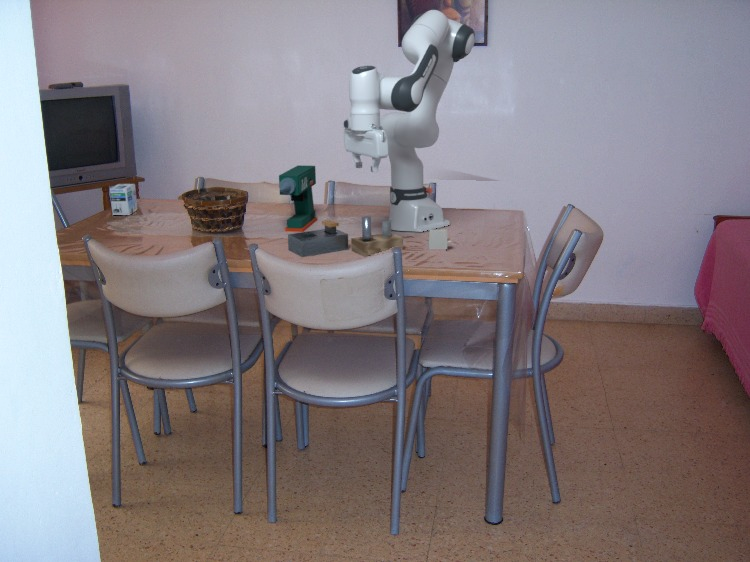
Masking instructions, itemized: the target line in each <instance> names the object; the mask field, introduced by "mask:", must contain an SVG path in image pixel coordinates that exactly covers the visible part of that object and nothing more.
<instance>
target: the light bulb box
mask: <svg viewBox="0 0 750 562" xmlns="http://www.w3.org/2000/svg"><path fill="white" fill-rule="evenodd" d="M136 191H137V190H136V183H118V184H116V185H114V186H111V188H109V193H110V194H109V197H110V202H111V203H110V204H111V211H112V216H113V215H130V214H132V213H133V212H134V211H136V210H137V209H138V201H137V199H138V198H137V192H136ZM133 214H134V213H133ZM133 214H132V215H133ZM130 216H131V215H130Z"/></svg>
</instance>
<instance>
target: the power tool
mask: <svg viewBox="0 0 750 562" xmlns="http://www.w3.org/2000/svg"><path fill="white" fill-rule="evenodd" d="M316 176H317V175H316V165H296V166H294V167H292V168H290V169H289V170H286V171H284V172H283V173H281V174H279V175H278V188H279V195H280V196H281V195H282V196H290V201H291V202H293V204H294V213H295V214H293V215H292V216H291V217H289V218H288V219H286V227H285V228H284V231H285V232H294V233H301V232H306V230H308V229H309V228H310V227H311V226H313V225H314V223H316V222H317V221H318V220H319V219H318V216H316V215H317V214H316V210H315V205H314V204H315V203H314V197H313V186H315V185H316V184H317V182H316V181H317V180H316V179H317V178H316Z"/></svg>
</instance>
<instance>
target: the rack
mask: <svg viewBox="0 0 750 562" xmlns="http://www.w3.org/2000/svg"><path fill="white" fill-rule="evenodd" d="M381 225H382V227H381V233H378V234H377V233H376V234H372V241H369V242H363V239H362V236H359V237H351V238H350V240H351V244H350V247H351V252H353V253H355V254H357V255H359V256H362V257H369V256H368V255H371V254H375V253H379V252H382V251H386V250H389V249H390V248H392V247H395V246H399V247H401V248H403V249H404V237H403V236H400V235H397V234H395V233H392V229H391V220H389V219H383V220H381ZM371 256H372V255H371Z"/></svg>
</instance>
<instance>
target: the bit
mask: <svg viewBox="0 0 750 562" xmlns="http://www.w3.org/2000/svg"><path fill="white" fill-rule="evenodd" d="M361 225H362V226H361V227H362V228H361V231H362V232H361V233H362V234H361V235H362V236H361V237H362V239H363V242H369V241H372V235H373V234H372V216H362V217H361Z"/></svg>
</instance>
